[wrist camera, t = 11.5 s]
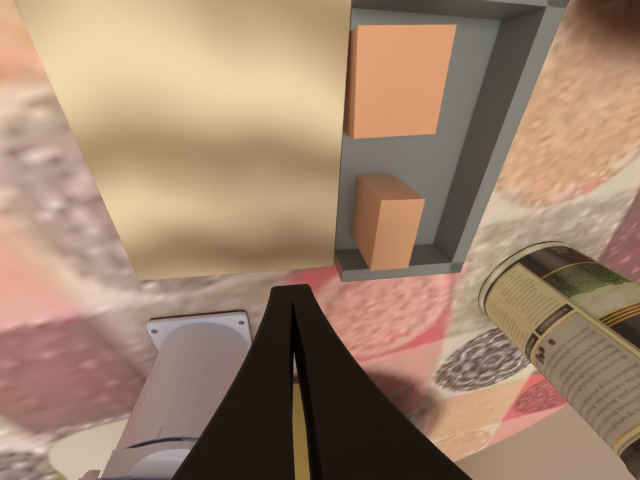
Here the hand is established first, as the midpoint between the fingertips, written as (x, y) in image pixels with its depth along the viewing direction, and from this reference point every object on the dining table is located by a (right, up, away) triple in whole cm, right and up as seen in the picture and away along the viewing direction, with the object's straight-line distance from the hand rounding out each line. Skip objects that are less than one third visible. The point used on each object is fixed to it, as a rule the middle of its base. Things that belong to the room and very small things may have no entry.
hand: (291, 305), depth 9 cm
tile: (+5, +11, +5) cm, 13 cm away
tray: (+7, +8, +7) cm, 13 cm away
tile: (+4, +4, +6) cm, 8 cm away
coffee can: (+22, -2, +17) cm, 28 cm away
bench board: (-4, +8, +6) cm, 11 cm away
